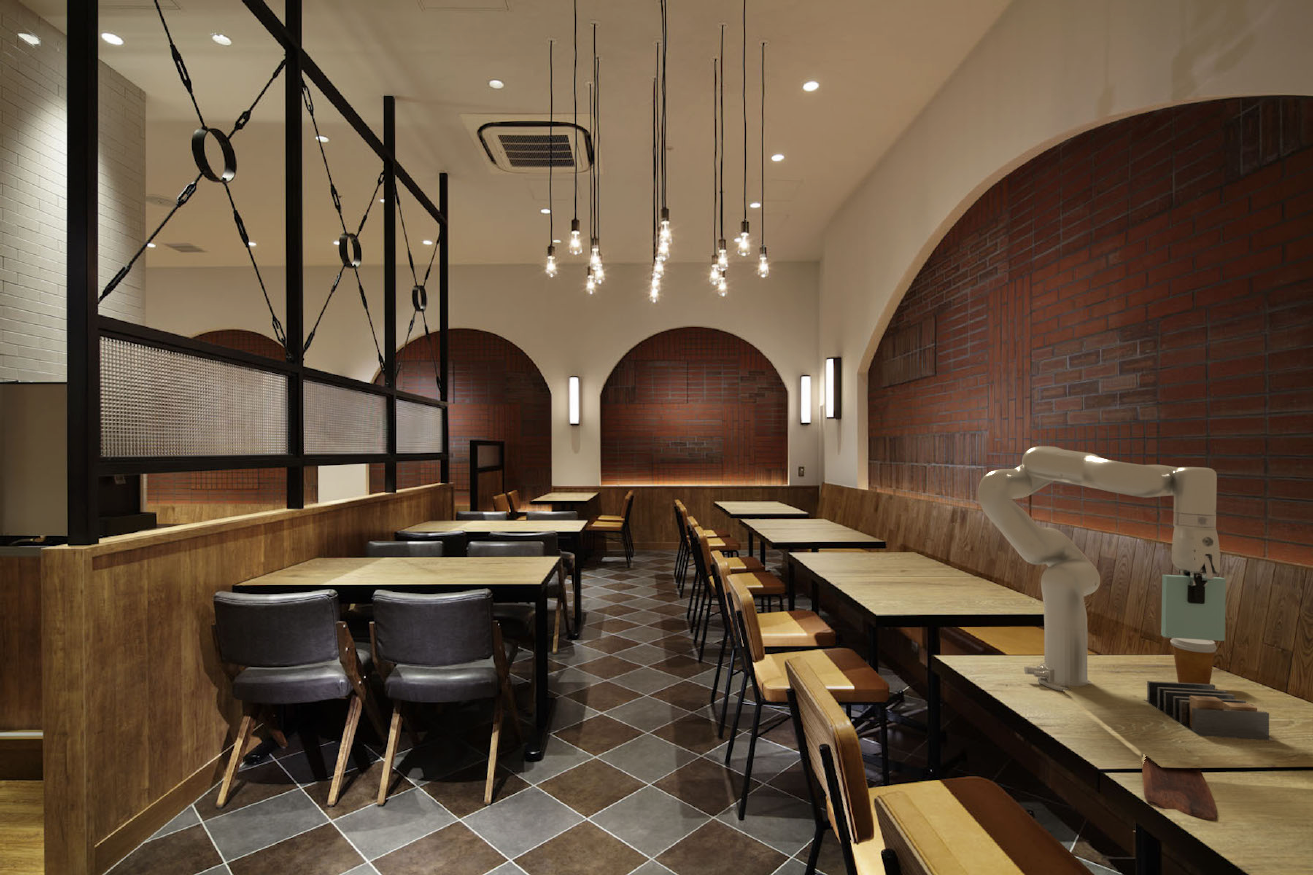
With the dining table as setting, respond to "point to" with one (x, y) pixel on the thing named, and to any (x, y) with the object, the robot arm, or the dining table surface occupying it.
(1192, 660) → the disposable coffee cup
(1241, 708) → the short walnut offcut
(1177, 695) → the rack
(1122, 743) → the dining table surface
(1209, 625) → the teal sheet
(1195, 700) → the tall walnut offcut
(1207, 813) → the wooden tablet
